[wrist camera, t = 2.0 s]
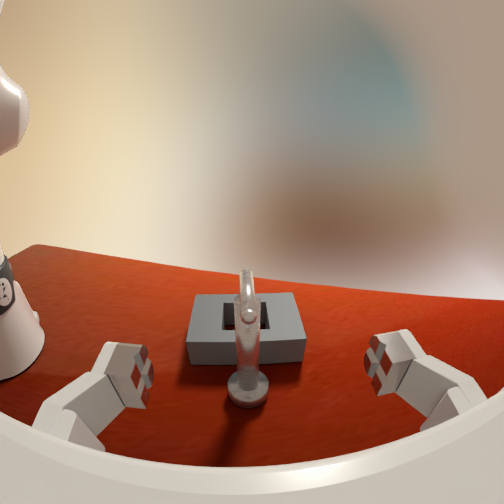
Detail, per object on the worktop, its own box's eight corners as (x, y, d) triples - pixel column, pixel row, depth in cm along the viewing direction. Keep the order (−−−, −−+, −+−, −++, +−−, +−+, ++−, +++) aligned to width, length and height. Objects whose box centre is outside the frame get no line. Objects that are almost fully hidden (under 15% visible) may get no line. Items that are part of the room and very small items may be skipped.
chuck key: (228, 419, 25) (217, 315, 19) (228, 370, 31) (221, 266, 25) (270, 417, 25) (280, 313, 19) (265, 369, 31) (269, 265, 25)
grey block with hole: (190, 364, 32) (185, 341, 30) (198, 316, 41) (195, 294, 39) (302, 361, 32) (306, 338, 31) (290, 314, 41) (292, 292, 40)
